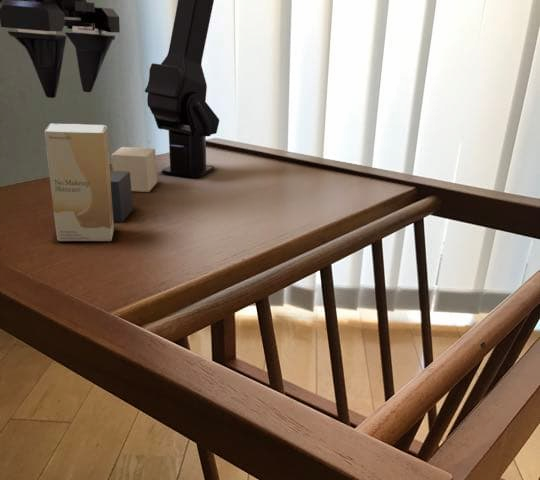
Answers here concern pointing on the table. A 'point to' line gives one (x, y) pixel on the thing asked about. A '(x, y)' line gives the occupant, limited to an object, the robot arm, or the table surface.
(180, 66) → the robot arm
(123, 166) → the ivory block
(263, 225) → the table surface
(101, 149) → the cosmetic box
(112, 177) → the slate block
